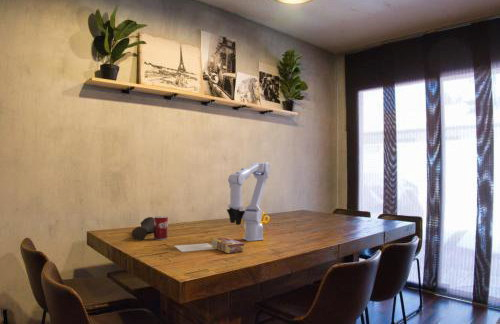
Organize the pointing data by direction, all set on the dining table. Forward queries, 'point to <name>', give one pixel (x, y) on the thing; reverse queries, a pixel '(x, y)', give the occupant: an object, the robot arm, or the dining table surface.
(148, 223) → the dark grey dumbbell
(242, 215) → the robot arm
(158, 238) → the soda can
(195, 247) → the mat
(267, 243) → the dining table surface
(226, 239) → the candy box
